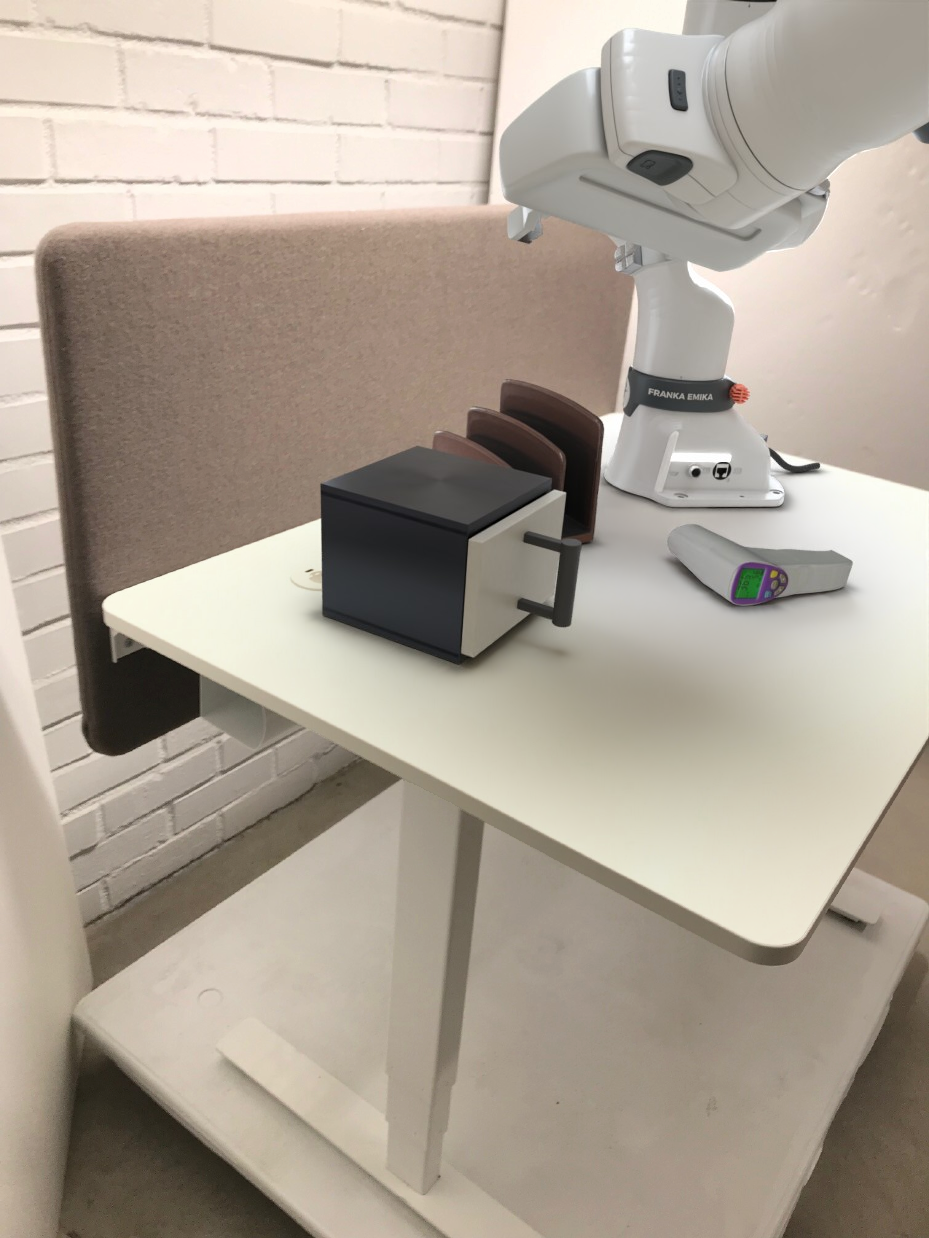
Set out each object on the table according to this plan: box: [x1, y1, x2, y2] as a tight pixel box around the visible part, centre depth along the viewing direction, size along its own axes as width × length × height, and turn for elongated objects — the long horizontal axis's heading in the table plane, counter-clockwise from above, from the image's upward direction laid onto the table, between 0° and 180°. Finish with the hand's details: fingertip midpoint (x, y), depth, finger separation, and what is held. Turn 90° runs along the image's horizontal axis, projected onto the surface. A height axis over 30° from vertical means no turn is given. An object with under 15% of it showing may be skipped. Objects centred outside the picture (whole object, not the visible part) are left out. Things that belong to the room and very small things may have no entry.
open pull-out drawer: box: [461, 490, 582, 658], centre depth 76 cm, size 19×14×10 cm
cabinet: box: [319, 445, 552, 665], centre depth 78 cm, size 14×14×12 cm
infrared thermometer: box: [666, 523, 854, 607], centre depth 91 cm, size 5×12×15 cm
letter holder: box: [431, 378, 605, 544], centre depth 99 cm, size 10×20×14 cm, turn 29°
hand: (571, 248), depth 61 cm, fingers open, 8 cm apart
